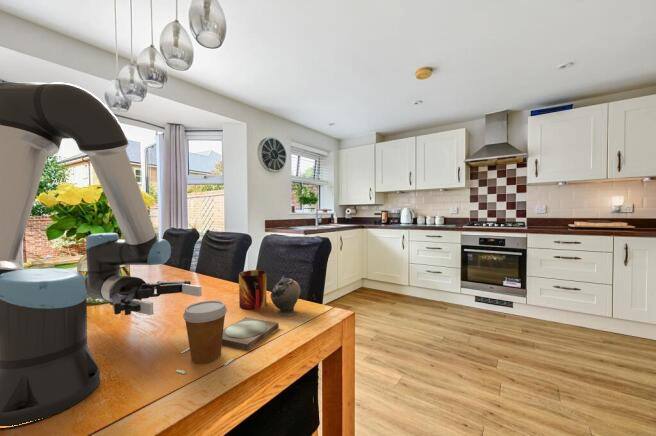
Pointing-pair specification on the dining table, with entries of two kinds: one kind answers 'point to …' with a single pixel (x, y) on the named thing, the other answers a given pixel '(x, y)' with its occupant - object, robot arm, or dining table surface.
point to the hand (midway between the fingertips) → (178, 299)
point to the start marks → (189, 349)
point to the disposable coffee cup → (205, 330)
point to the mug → (252, 290)
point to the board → (247, 332)
